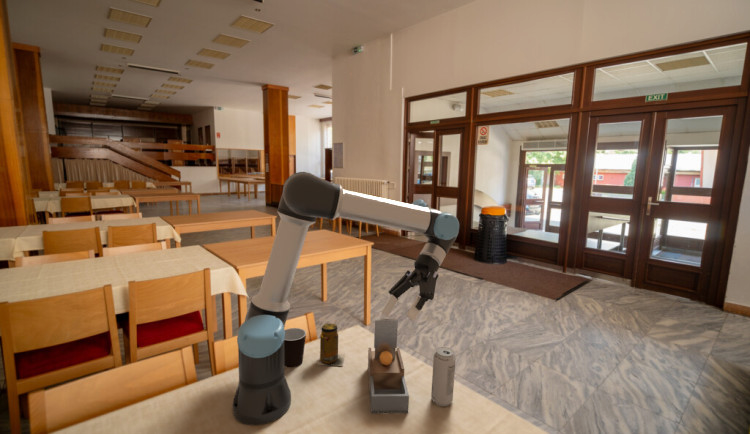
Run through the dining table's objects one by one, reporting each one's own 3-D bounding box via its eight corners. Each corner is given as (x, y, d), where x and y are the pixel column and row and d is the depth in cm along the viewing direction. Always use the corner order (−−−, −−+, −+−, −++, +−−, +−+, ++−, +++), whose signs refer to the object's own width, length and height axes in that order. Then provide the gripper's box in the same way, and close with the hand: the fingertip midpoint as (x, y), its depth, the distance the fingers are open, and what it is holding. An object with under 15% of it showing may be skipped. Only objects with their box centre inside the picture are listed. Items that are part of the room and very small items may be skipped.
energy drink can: (436, 391, 103) (439, 343, 101) (455, 399, 99) (459, 350, 97) (427, 401, 98) (430, 352, 96) (447, 410, 94) (450, 359, 92)
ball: (378, 366, 104) (378, 354, 103) (380, 359, 108) (380, 347, 107) (391, 368, 103) (391, 356, 102) (393, 361, 107) (393, 349, 106)
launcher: (369, 391, 101) (370, 369, 100) (367, 368, 113) (368, 347, 112) (403, 391, 102) (404, 368, 101) (398, 368, 114) (399, 347, 113)
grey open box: (371, 413, 92) (371, 396, 92) (369, 391, 101) (370, 376, 101) (408, 412, 93) (409, 395, 92) (403, 391, 102) (404, 375, 101)
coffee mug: (299, 371, 110) (299, 342, 109) (274, 367, 112) (274, 338, 110) (313, 352, 122) (313, 325, 120) (290, 349, 123) (290, 322, 122)
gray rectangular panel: (373, 358, 107) (375, 320, 106) (373, 356, 109) (374, 318, 107) (396, 358, 108) (397, 320, 106) (395, 356, 109) (397, 318, 107)
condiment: (321, 353, 121) (321, 321, 119) (345, 355, 121) (346, 322, 119) (316, 365, 114) (317, 331, 112) (342, 366, 114) (343, 332, 112)
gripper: (464, 266, 102) (431, 328, 92) (413, 268, 123) (382, 319, 113) (448, 250, 100) (413, 312, 90) (399, 255, 121) (367, 305, 111)
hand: (396, 316), depth 102 cm, fingers open, 13 cm apart
